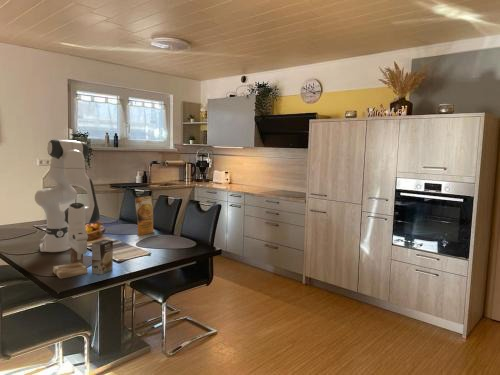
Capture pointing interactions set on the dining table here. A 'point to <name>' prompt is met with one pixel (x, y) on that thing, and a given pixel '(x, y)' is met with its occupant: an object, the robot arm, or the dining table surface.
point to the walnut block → (75, 257)
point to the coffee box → (102, 256)
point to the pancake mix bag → (144, 215)
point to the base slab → (69, 270)
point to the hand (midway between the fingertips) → (76, 257)
